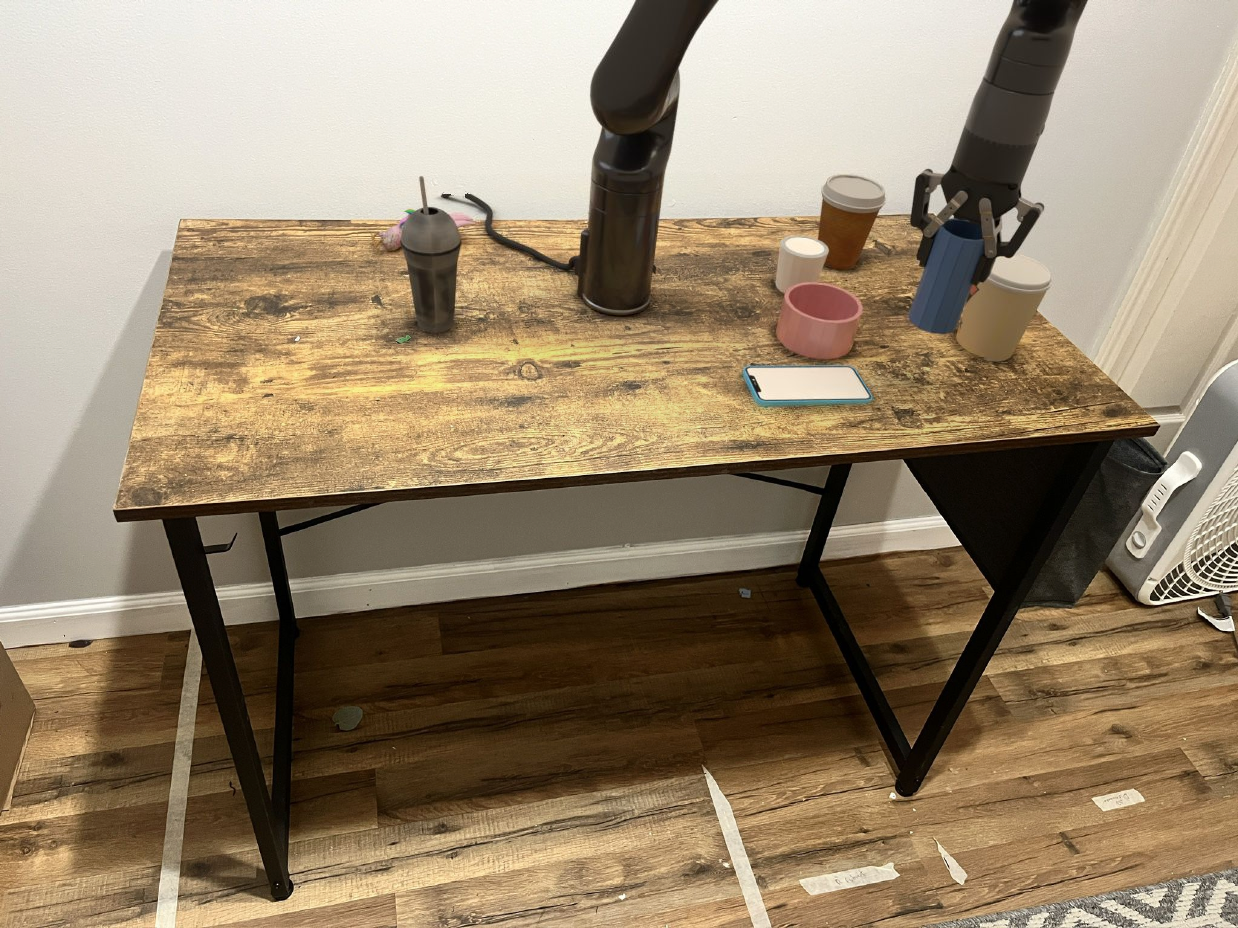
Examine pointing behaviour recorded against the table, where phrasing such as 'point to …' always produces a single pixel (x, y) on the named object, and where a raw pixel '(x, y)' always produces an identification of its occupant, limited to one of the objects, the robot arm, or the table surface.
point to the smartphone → (806, 385)
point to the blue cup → (947, 277)
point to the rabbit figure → (393, 234)
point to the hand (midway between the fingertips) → (949, 273)
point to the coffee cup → (1003, 307)
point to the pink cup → (818, 320)
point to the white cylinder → (799, 261)
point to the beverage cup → (432, 264)
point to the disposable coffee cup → (848, 217)
